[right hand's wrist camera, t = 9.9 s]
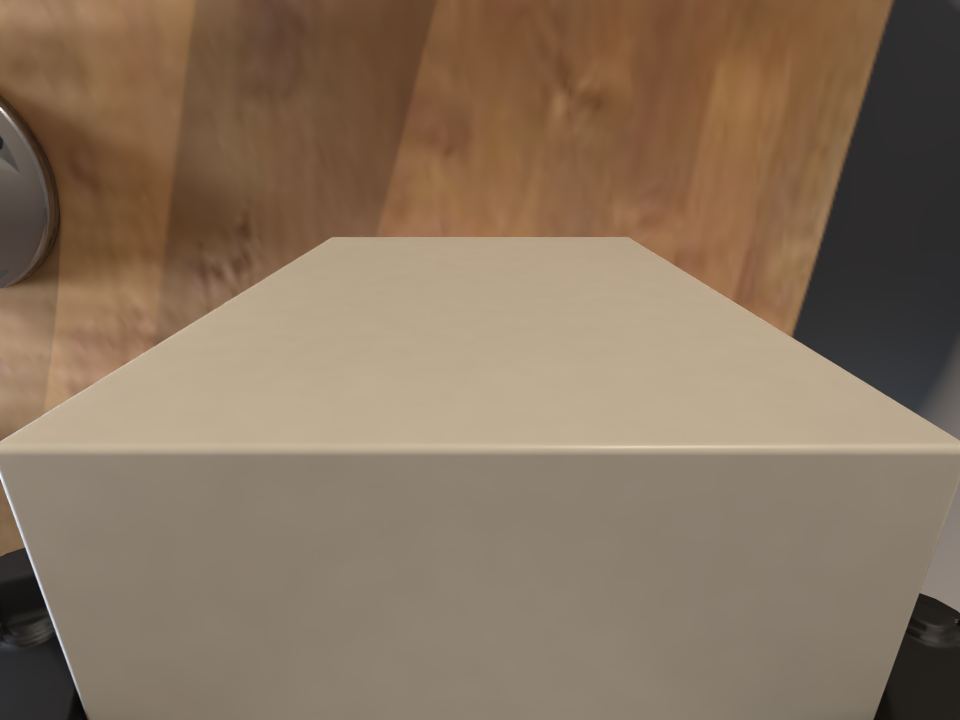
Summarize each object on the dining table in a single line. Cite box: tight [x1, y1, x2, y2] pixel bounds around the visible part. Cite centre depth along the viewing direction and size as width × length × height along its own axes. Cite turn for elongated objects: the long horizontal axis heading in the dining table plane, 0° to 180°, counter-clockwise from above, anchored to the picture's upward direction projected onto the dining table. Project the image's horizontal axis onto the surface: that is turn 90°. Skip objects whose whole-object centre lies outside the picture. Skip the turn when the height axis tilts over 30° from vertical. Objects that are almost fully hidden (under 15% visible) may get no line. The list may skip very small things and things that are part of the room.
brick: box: [0, 237, 960, 720], centre depth 12 cm, size 9×8×12 cm
